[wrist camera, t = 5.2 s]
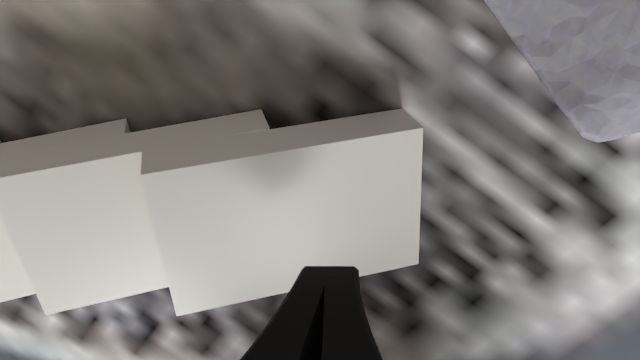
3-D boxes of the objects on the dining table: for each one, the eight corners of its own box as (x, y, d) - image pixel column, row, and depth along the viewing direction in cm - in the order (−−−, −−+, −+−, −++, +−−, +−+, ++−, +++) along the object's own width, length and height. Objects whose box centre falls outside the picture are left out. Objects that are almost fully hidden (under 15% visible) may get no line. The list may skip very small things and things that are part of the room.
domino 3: (418, 263, 18) (176, 316, 17) (400, 237, 20) (175, 283, 18) (423, 127, 16) (140, 174, 14) (402, 108, 17) (142, 149, 16)
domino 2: (288, 259, 19) (45, 315, 18) (280, 234, 20) (53, 283, 19) (269, 127, 16) (-16, 180, 15) (261, 109, 18) (-1, 156, 16)
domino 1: (164, 262, 20) (-77, 321, 18) (164, 237, 21) (-61, 290, 20) (123, 136, 17) (-159, 195, 16) (126, 118, 19) (-134, 170, 17)
